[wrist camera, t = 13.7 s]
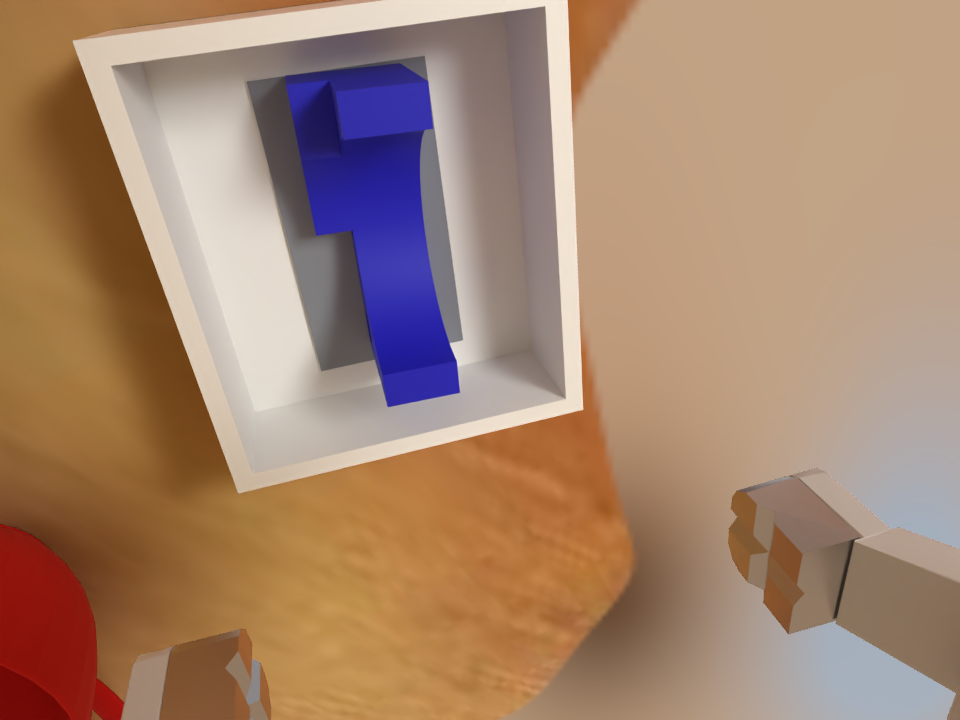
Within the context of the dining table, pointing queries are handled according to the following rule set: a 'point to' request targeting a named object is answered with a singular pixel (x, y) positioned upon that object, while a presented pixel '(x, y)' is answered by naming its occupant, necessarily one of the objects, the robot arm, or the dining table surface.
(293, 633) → the dining table surface
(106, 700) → the ceramic cup
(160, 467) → the dining table surface
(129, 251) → the dining table surface
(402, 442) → the walled box
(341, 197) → the blue curved block
